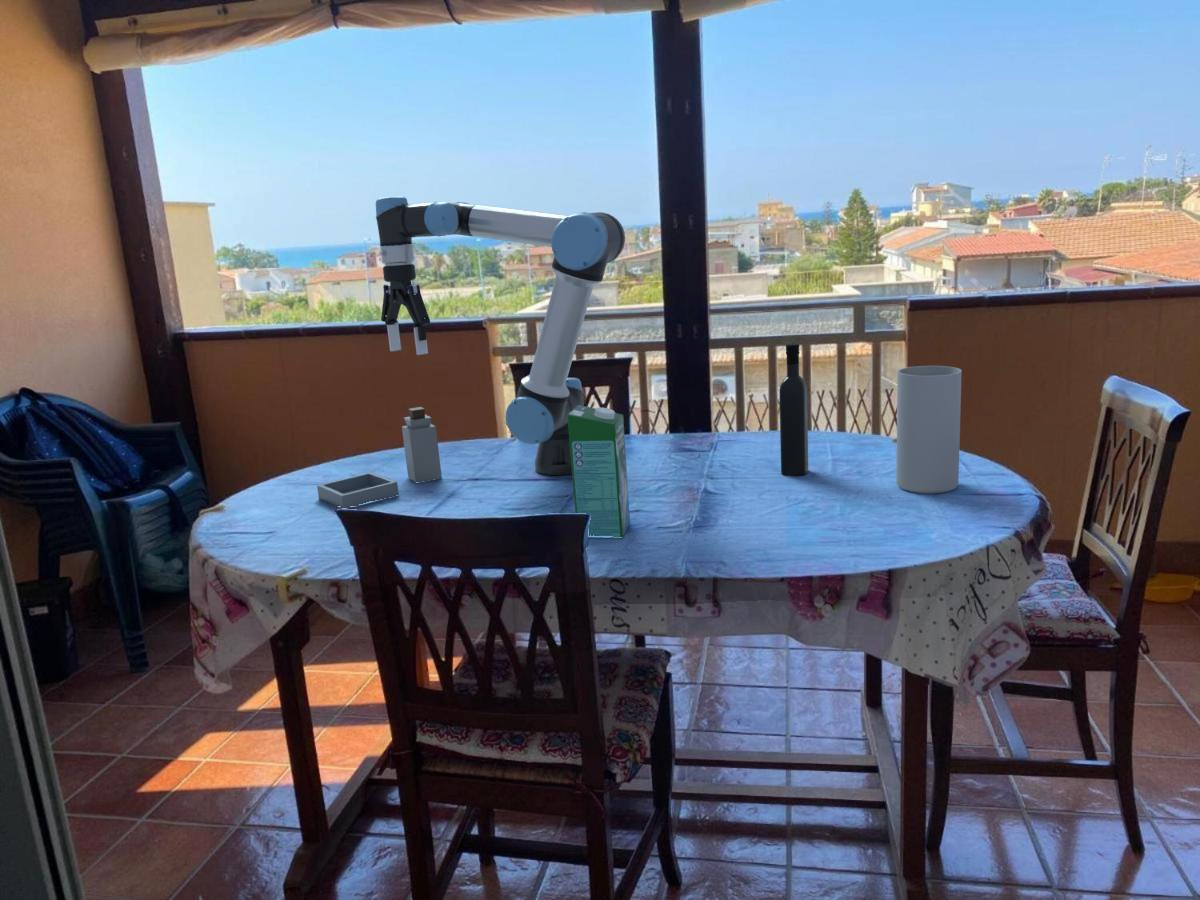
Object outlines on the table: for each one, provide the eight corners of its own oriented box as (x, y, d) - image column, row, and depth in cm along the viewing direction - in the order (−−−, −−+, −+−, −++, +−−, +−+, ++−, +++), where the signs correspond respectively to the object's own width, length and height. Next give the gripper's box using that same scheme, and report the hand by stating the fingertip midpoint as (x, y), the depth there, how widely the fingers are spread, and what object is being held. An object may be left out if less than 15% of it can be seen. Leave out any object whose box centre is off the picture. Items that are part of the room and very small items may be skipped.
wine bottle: (780, 475, 209) (777, 346, 202) (784, 468, 214) (782, 342, 207) (805, 476, 207) (803, 346, 199) (809, 469, 212) (807, 342, 205)
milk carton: (622, 538, 175) (614, 412, 169) (577, 538, 176) (567, 413, 170) (630, 523, 183) (622, 402, 177) (586, 523, 185) (577, 404, 179)
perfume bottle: (415, 483, 224) (407, 412, 220) (408, 477, 230) (399, 408, 226) (441, 478, 227) (433, 408, 223) (433, 473, 233) (425, 404, 229)
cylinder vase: (967, 482, 194) (971, 367, 187) (943, 498, 185) (946, 377, 179) (911, 475, 202) (913, 364, 196) (886, 489, 193) (887, 374, 187)
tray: (399, 495, 214) (397, 481, 214) (343, 510, 206) (341, 495, 205) (372, 485, 225) (370, 472, 224) (319, 499, 216) (316, 485, 216)
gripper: (360, 265, 223) (371, 351, 228) (409, 264, 204) (420, 358, 209) (388, 263, 227) (398, 347, 232) (438, 262, 209) (448, 353, 214)
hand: (408, 352), depth 221 cm, fingers open, 13 cm apart
